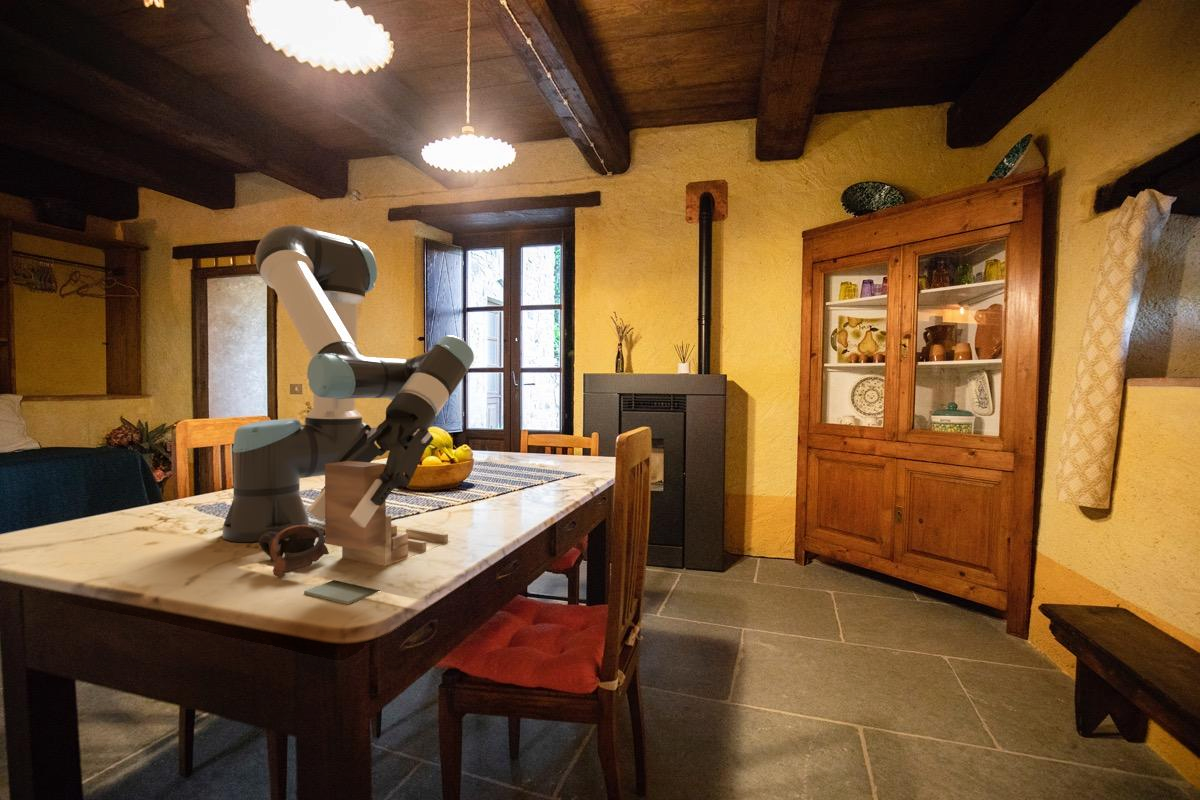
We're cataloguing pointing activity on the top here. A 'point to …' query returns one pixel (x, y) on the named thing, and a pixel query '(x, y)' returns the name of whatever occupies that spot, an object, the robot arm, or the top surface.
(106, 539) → the top surface
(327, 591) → the felt mat
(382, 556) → the rack
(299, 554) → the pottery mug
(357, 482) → the brown rectangular block
